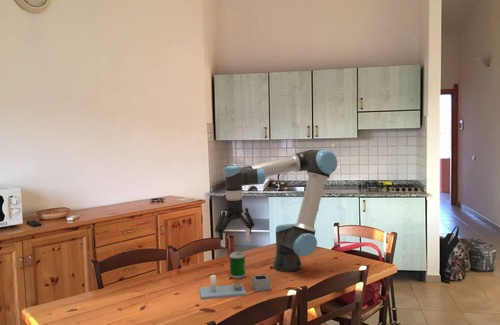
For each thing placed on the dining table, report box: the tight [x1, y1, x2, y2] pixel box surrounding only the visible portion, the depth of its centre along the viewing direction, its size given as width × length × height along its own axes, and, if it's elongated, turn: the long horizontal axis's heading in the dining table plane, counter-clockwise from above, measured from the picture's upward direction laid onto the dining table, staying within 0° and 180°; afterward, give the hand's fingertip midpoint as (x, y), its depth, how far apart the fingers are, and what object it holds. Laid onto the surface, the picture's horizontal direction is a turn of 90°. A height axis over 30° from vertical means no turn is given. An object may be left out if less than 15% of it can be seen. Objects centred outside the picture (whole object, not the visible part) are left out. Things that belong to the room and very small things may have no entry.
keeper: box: [199, 274, 247, 300], centre depth 192 cm, size 20×12×8 cm, turn 100°
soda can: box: [229, 251, 246, 280], centre depth 213 cm, size 8×8×12 cm
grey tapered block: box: [251, 274, 271, 292], centre depth 196 cm, size 7×7×5 cm
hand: (235, 244), depth 198 cm, fingers open, 13 cm apart
